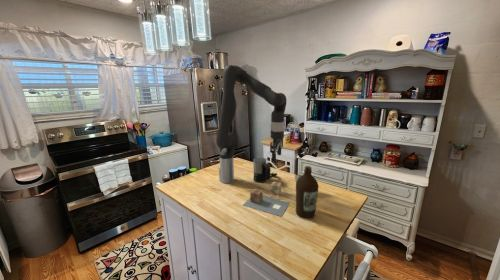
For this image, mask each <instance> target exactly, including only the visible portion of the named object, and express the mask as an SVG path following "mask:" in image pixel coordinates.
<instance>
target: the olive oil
mask: <svg viewBox="0 0 500 280" xmlns="http://www.w3.org/2000/svg"><path fill="white" fill-rule="evenodd" d="M301 175H302V176H301V177H300V178H299V179H298V180H297V182H296V181H295V214H296V216H298V218H299V217H300V218H301V219H303V220H309V219H311V220H312V219H313V218H315V215H316V210H317V201H318V194H319V184H318V181H317V179H316V178H314V177H315V176H313V175H312V166H308V165H305V166H304V173H303V174H301Z"/></svg>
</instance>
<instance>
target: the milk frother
mask: <svg viewBox="0 0 500 280" xmlns="http://www.w3.org/2000/svg"><path fill="white" fill-rule="evenodd" d="M252 161H253V178H252V179H253V182H255V183H264V182H266V181H270V179H272V178H274V177H277V176H278V173H275V172H271V166H270V164H269V163H267V158H265V157H255V158H253V159H252Z"/></svg>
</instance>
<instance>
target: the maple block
mask: <svg viewBox="0 0 500 280" xmlns="http://www.w3.org/2000/svg"><path fill="white" fill-rule="evenodd" d="M281 194H282V182H278V181H273V182H271V184H270V195H272V196H273V195H274V196H277V197H279V195H281Z"/></svg>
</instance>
